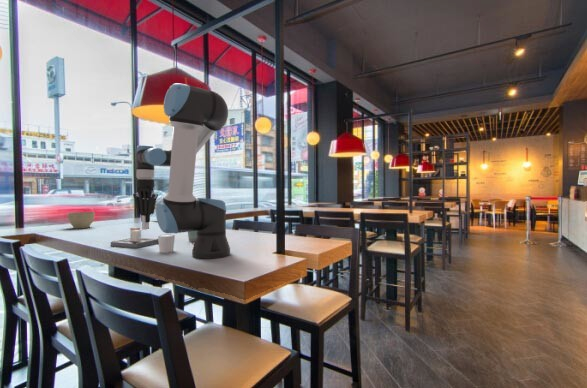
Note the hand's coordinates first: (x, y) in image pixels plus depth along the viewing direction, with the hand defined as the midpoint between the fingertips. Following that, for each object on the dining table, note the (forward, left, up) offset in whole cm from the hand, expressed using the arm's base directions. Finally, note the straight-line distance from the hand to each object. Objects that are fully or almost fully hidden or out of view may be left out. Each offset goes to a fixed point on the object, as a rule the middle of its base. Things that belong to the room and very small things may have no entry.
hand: (145, 229), depth 141 cm
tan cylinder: (+14, -7, -6) cm, 16 cm away
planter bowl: (+101, -42, -9) cm, 109 cm away
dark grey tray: (+10, -3, -8) cm, 13 cm away
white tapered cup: (-16, +5, -9) cm, 19 cm away
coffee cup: (-11, -21, -9) cm, 26 cm away
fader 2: (+6, 0, -6) cm, 8 cm away
